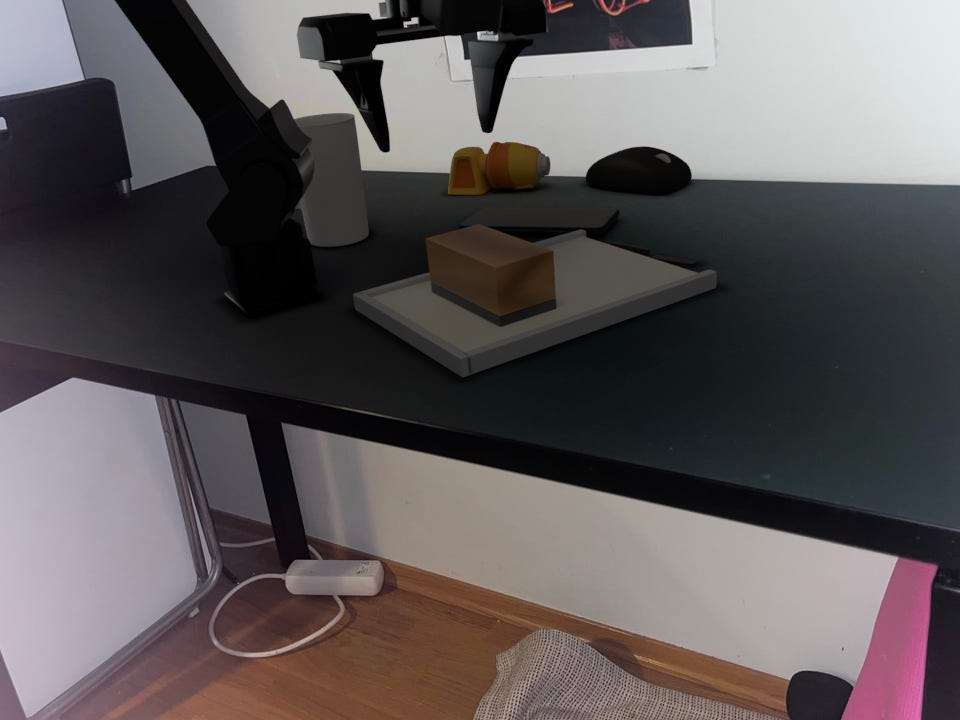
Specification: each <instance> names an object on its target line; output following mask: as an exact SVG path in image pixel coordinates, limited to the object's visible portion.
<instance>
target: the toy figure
mask: <svg viewBox="0 0 960 720" xmlns="http://www.w3.org/2000/svg"><path fill="white" fill-rule="evenodd" d="M449 170H450V171H449V177H448V178H449V179H448V187H447V195H455V196H457V195H461V196H462V195H463V196H479V195H483V194H485V193H487V192H488V191H490V190H491V189H494V190H499V189H505V190H513V189H514V190H515V191H519V190H527V189H533V188H535V186H536V185H537V184H538V183H539V182H540V181H541V180H542V179H544V178H545V176H549V175H550V172H551V158H550V156H549V155H548V156H547V155H546V154H545V153H543V152H541V150H540V149H539V148H538V147H536V146H534V145H529V144H524V143H521V142H517V141H516V142H515V141H514V142H513V141H505V142H500V141H493V142H492V143H491V146H490V147H489V149H488V152H487V153H485V151H484V149H483V148H482V147H480V146H467V147H462V148H459V149H458V150H456V151H455V152H454V153H453V155H452V158H451V162H450V169H449Z"/></svg>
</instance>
